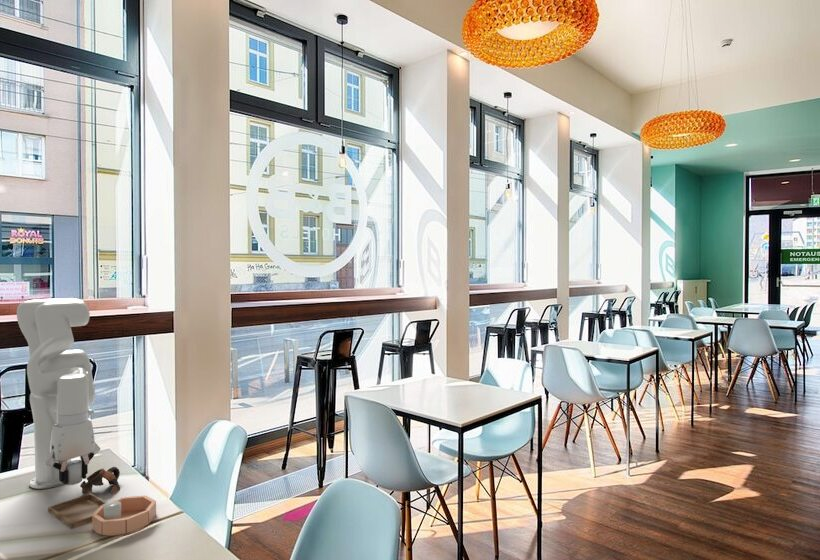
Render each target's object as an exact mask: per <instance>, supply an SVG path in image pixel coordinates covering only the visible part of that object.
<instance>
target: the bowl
mask: <svg viewBox="0 0 820 560" xmlns="http://www.w3.org/2000/svg"><path fill="white" fill-rule="evenodd" d="M113 501H120V502H121V516H122V518H121V519H108V520H105V519H104V505H105V504H103V505H101V506H100V507H99V508H98V509H97V510H96V511H95V512H94V513H93V514H92V522H91V527H92V528H91V529H92V530H93V531H95V533H96V534H99V535H101V536H120V535H123V537H125V536H129V535H132V534H135V533H137V532H138V533H139V532H140V531H142V530H145V529H146V528H148V527H149V526H150V523H151V522H153V520H154V518H155V516H156V515H157V500H155V499H153V498H151V497H150V496H148V495H135V496H134V495H132V496H123V497H120V498H117V499H115V500H112V501H109V502H113ZM109 502H107V503H109ZM107 503H106V504H107Z"/></svg>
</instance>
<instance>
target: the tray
mask: <svg viewBox="0 0 820 560" xmlns="http://www.w3.org/2000/svg"><path fill="white" fill-rule="evenodd" d="M106 503H108V502H107V501H105V500H104V499H102V498H100V497H98V496H97V495H95V494H94V493H93V492H89V493H86V494H85V495H81V496H78V497H75V498H71V499H69V500H66V501H63V502H60V503H57V504H54V505H52V506H49V507H47V511H48V513H49V514H51V515H52V516H53V517H54V518H56V519H58V520H59V521H60V522H61V523H63V524H64V525H66V526H67V527H68V528H70V529H71V530H72V529H73V530H74V529H75V528H78V527H81V526H84V525H87V524H88V523H92V514H93V513H94V512H95V511H96V510H97V509H98V508H99V507H100V506H101V505H103V504H106Z"/></svg>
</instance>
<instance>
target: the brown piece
mask: <svg viewBox="0 0 820 560" xmlns="http://www.w3.org/2000/svg"><path fill="white" fill-rule="evenodd" d="M120 473H121V472H120V469H119V468H118V467H117V466H112V467H110V468H108V469H107V470H105V468H100V469H98V470H96V471H94V472H93V473H92V474H90V475H88V476H87V477H86V480H87V481H86V480H82V481H81V482H80V488H81V489H82V490H81V493H82V494H87V493H88V492H89V493H93V486H95V487H96V486H97V487H98V486H99V487H101V486H103V485H104V483H103V479H105V481H107V482H108V484H109V486H112V487H111V489H110V492H111V494H113V495H114V494H116V493H118V492H119V491H120V490H121V487H120V484H119V482H118V480H119V477H120Z"/></svg>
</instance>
